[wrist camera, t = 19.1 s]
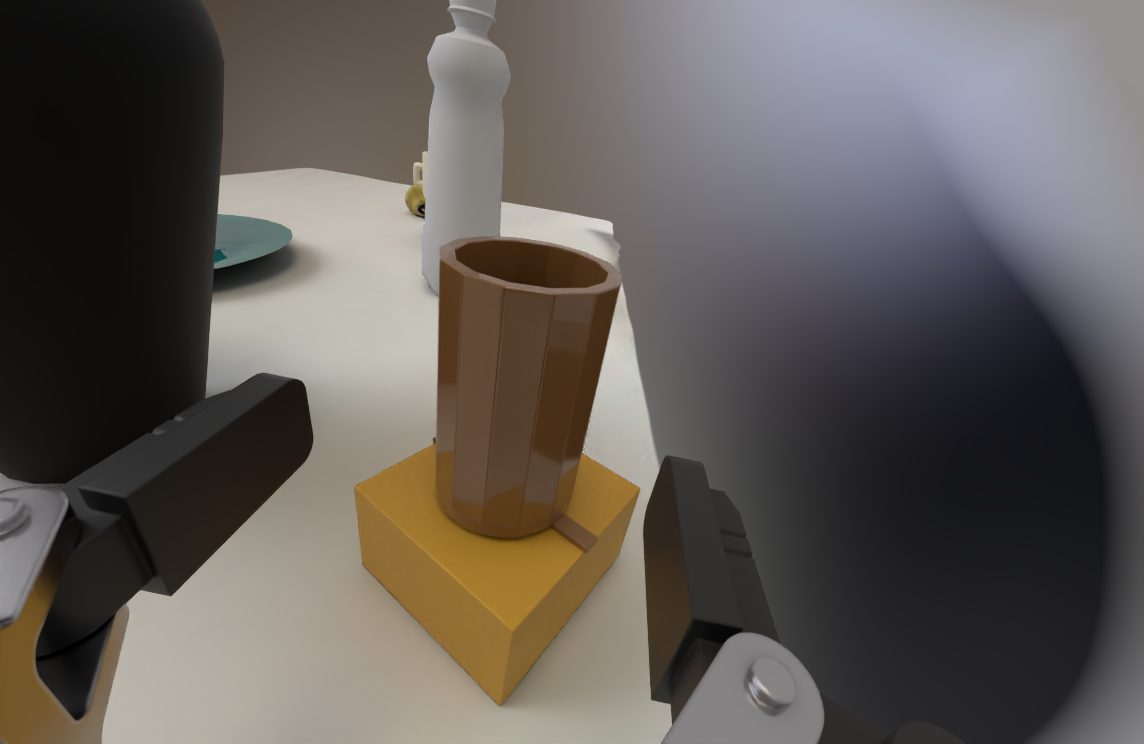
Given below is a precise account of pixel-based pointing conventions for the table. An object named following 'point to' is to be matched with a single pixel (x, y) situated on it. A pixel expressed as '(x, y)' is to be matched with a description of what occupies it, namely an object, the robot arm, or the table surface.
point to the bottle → (464, 134)
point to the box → (489, 565)
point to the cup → (516, 377)
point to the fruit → (416, 200)
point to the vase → (104, 224)
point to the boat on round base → (246, 239)
